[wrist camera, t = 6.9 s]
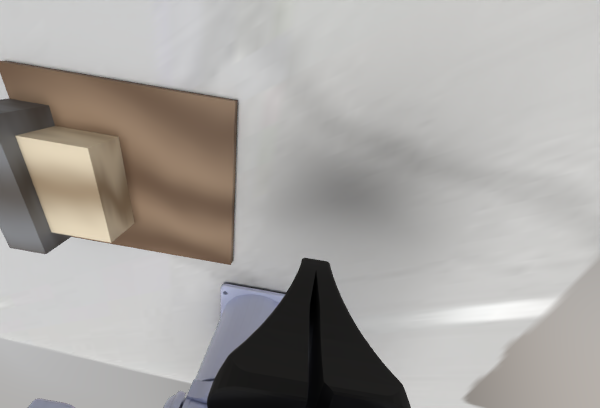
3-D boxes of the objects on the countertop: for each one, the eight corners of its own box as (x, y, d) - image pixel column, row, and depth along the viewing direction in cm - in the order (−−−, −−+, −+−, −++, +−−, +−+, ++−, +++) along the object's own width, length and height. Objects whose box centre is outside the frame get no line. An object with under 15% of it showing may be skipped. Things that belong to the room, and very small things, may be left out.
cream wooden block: (134, 223, 24) (111, 242, 22) (81, 213, 24) (51, 232, 22) (118, 136, 21) (87, 148, 18) (55, 125, 21) (15, 135, 18)
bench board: (232, 260, 26) (215, 297, 22) (64, 230, 26) (16, 261, 22) (237, 100, 19) (213, 111, 15) (5, 60, 19) (-81, 61, 15)
